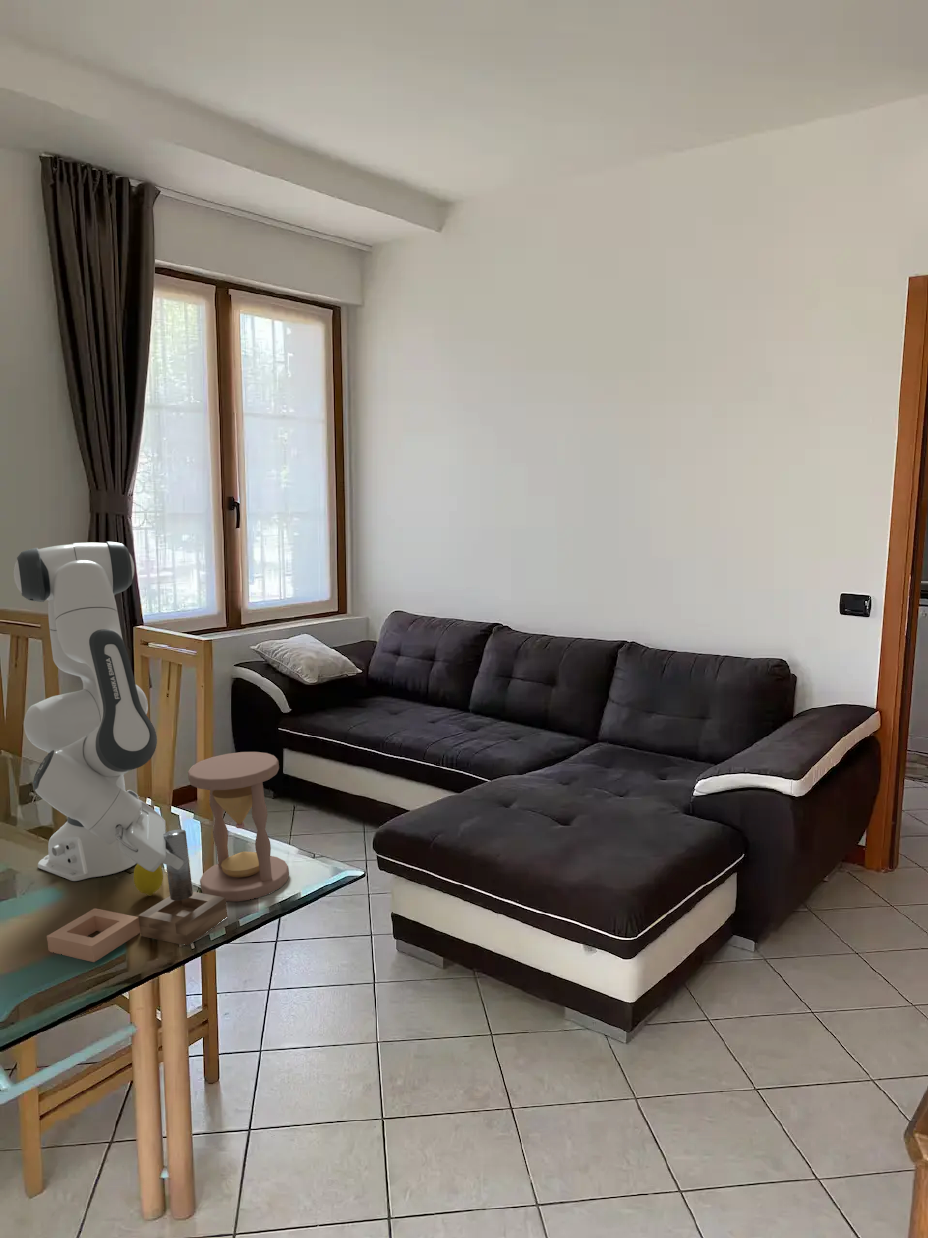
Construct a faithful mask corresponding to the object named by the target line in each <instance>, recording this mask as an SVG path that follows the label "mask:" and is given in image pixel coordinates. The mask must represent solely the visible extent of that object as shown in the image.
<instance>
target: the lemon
mask: <svg viewBox="0 0 928 1238" xmlns="http://www.w3.org/2000/svg"><path fill="white" fill-rule="evenodd" d="M163 880H164V872H163V870H162V866H161V865H160V866H159V867H158V868H157V869H156V870H155V871H154V872H151V871H148V870H146V869H144V868H143V867H142V866H140V865H139V864H137V863H136V864H135V867H134V870H133V883H134V886H135V887H136V889H137V890H138V891H139V892H140V893H142V894H146V895H148V896H153V894H154V893H155V892H157V891H159V889H160V888H161V886H162V884H163Z"/></svg>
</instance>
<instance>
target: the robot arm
mask: <svg viewBox="0 0 928 1238" xmlns="http://www.w3.org/2000/svg"><path fill="white" fill-rule="evenodd" d="M134 576H135V563H134V559H133V556H132V555H131V553H130V551H129V548H128V547H127V546H126V545H125V544H123V543H122V542H121V543H120V542H115V541H105V542H91V541H90V542H89V541H88V542H72V543H70V544H68V543H67V544H60V545H53V546H47V547H42V548H38V547H34V548H29V549H26V550H23V551H21V552H20V553H19V554H18V555H17V557H16V561H15V564H14V567H13V580H14V584H15V585H16V588H17V589H18V591H19V592H20V593H21V596H22V597H23V598H25V599H26V600H27V601H31V602H36V603H37V602H39V603H44V602H45V601H48V603H47V605H48V608H47V612H48V613H47V614H48V627H49V637H50V638H49V639H50V644H51V653H52V661H53V662H54V664H55V666H56V667H57V668H58V669H59V670H60V671H62V672H63V673H66V674H69V675H73V676H76V677H79V678H80V679H81V681H82V689H80V690H77V691H72V692H67V693H66V692H65V693H63V694H58V695H57V694H56V695H53V696H50V697H48V698H45V699H43V700H40V701H38V702H36V703H34V704H32V705H30V706H29V707H28V709H27V711H26V712H25V715H24V719H23V720H24V721H23V729H24V733H25V736H26V738H27V740H29V742H30V743H31V744H32V745H33V746H34V747H36V749H37V748H38V749H40V750H42V751H44V752H46V753H47V755H46V756H45V757H44V759H43V760H42V762H40V764H39V766H38V768H37V770H36V771H35V774H34V777H33V780H32V781H33V782H32V784H33V785H32V786H33V790H34V791H35V793H36V794H37V795H38V796H39V797H40V798H41V799H42V800H43V801H44V802H46V803H48V805H50V806H51V807H52V808H54V809H55V810H57V811H58V812H59V813H61V814H62V815H63V816H66V817H67V821H66V822H65V823H64V824H62V826H60V827H59V829H57V831H56V832H54V833H53V834H52V835H51V837H50V838H49V840H48V845H47V846H48V847H47V848H48V850H47V851H48V854H47V855H45V856H44V857H43V858H41V859H40V860H39V861H38V863H37V867H38V869H41V870H43V871H46V872H48V873H50V874H53V875H55V876H58V877H62V878H65V879H67V880H69V881H71V882H78V881H82V880H86V879H91V878H96V877H98V878H99V877H102V876H103V877H105V876H109V875H112V874H113V875H114V874H117V873H119V872H122V871H125V870H127V869H130V868H131V867H133V866H136V865H137V864H139V865H140V866H142V867H143V868H144V869H146V870H148V871H151V872H154V871H155V870H156V869H157V868H158V867H159V866H161V865H162V864H163V865H170V866H172V867H173V868H175V869H177V870H178V869H180V868H181V866H182V865H183V859H182V858H181V857H179V856H178V855H174V854H172V853H170V852H169V850H167V849H166V840H165V839H164V837H163V834H164V833H166V820H165V819H164V817H162V815H161V814H159V813H158V812H157V811H156V810H154V808H152V807H151V806H149V804H147V803H145V802H144V801H143V800H141V799H139V795H138V794H137V793H136V792H135V791H133V789H128V790H126V785H125V783H126V782H125V776H124V775H125V774H126V773H127V774H128V772H130V771H132V770H136V769H138V768H141V767H143V766H144V765H146V764H147V763H148V762H149V761H150V760H151V758H152V757H153V756H154V754H155V752H156V748H157V746H158V745H157V744H158V739H157V731H156V729H155V727H154V725H153V723H152V721H151V720H150V717H148V715H147V714H148V710H149V704H148V703H149V702H148V698H147V696H146V695H147V694H146V693H145V692H144V691H143V688H141V686H139V685H138V684H136V682H135V678H134V677H135V676H134V673H133V670H132V665H131V661H130V658H129V654H128V651H127V648H126V644H125V642H124V640H123V636H122V629H121V625H120V624H121V623H120V618H119V612H118V607H117V602H116V597H115V596H116V595H118V594H120V593H122V592H124V591H126V590H127V589H128V588H129V587H130V586H131V585H132V583H133V579H134Z"/></svg>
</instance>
